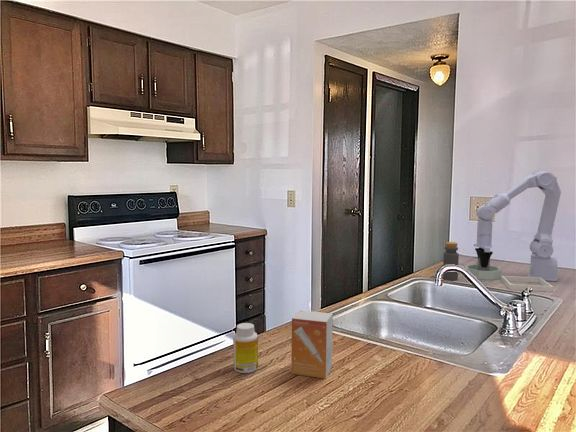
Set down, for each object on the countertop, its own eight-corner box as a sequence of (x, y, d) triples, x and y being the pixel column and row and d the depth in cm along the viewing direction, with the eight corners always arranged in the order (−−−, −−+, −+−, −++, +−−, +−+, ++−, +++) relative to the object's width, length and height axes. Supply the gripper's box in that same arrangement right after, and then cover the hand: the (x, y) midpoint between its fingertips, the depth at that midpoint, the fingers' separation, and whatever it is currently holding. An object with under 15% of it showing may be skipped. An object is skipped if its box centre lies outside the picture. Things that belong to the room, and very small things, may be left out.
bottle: (459, 280, 188) (461, 244, 186) (445, 280, 188) (446, 244, 187) (455, 277, 194) (456, 241, 192) (440, 277, 194) (442, 241, 192)
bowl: (495, 273, 201) (496, 265, 201) (503, 280, 188) (503, 272, 188) (463, 271, 204) (463, 264, 203) (468, 279, 191) (468, 270, 190)
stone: (487, 268, 197) (487, 257, 197) (489, 270, 193) (489, 259, 193) (476, 268, 198) (476, 256, 198) (477, 270, 194) (478, 258, 194)
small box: (290, 374, 104) (290, 317, 102) (298, 363, 110) (298, 309, 108) (326, 379, 101) (326, 321, 100) (332, 367, 107) (333, 312, 106)
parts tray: (540, 282, 185) (540, 277, 185) (552, 291, 171) (553, 286, 171) (500, 280, 188) (501, 275, 188) (510, 289, 174) (510, 284, 174)
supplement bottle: (261, 371, 105) (261, 327, 104) (238, 376, 103) (238, 331, 102) (252, 362, 110) (252, 320, 109) (230, 366, 108) (229, 323, 107)
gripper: (471, 231, 202) (469, 262, 203) (477, 236, 188) (476, 269, 189) (488, 232, 200) (487, 263, 202) (496, 237, 186) (494, 270, 188)
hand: (482, 266), depth 195 cm, fingers closed on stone, 4 cm apart
